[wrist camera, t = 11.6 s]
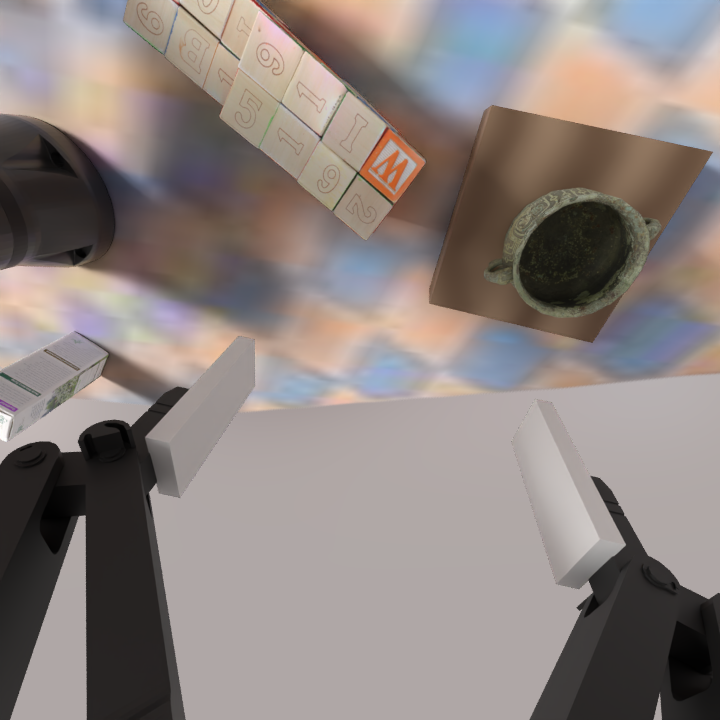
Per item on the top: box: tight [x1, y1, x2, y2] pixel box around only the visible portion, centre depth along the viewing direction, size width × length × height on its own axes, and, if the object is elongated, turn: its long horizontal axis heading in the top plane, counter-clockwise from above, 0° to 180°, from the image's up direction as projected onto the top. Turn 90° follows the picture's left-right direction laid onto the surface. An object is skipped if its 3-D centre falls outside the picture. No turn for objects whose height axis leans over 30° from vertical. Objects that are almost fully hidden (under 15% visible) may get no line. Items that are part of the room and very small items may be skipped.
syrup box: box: [0, 331, 109, 442], centre depth 45 cm, size 6×6×14 cm
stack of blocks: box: [123, 0, 426, 240], centre depth 26 cm, size 21×6×12 cm, turn 52°
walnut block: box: [429, 105, 713, 343], centre depth 32 cm, size 16×16×5 cm
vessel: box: [484, 188, 661, 318], centre depth 27 cm, size 12×9×6 cm
